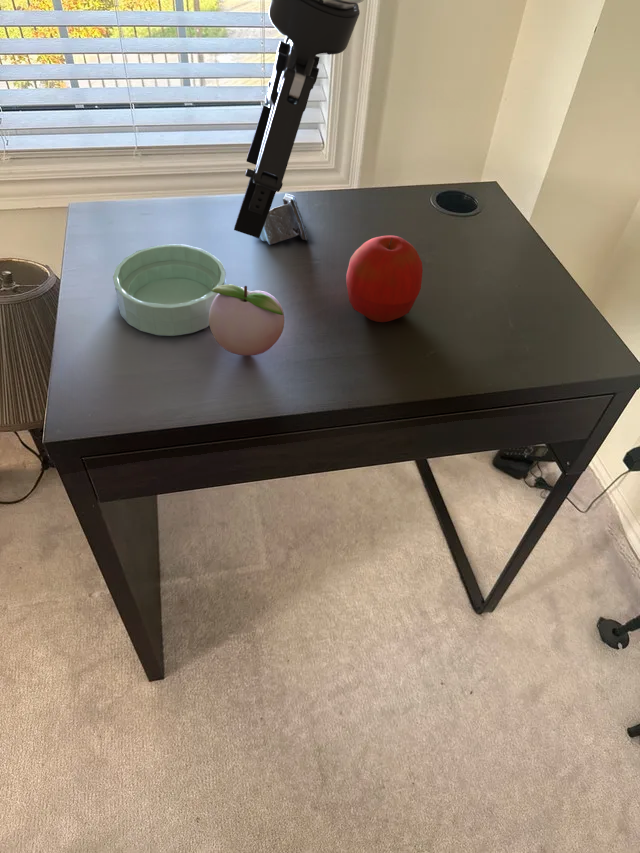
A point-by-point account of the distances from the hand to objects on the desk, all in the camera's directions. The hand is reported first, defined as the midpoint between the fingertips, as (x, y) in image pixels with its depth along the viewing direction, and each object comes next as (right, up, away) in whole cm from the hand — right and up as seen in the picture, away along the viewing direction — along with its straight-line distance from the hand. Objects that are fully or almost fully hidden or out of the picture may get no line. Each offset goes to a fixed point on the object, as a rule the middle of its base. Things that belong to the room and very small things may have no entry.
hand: (252, 196), depth 71 cm
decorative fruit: (-2, -16, +11) cm, 20 cm away
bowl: (-12, -9, +16) cm, 22 cm away
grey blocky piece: (0, +6, +32) cm, 32 cm away
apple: (+16, -9, +19) cm, 26 cm away
